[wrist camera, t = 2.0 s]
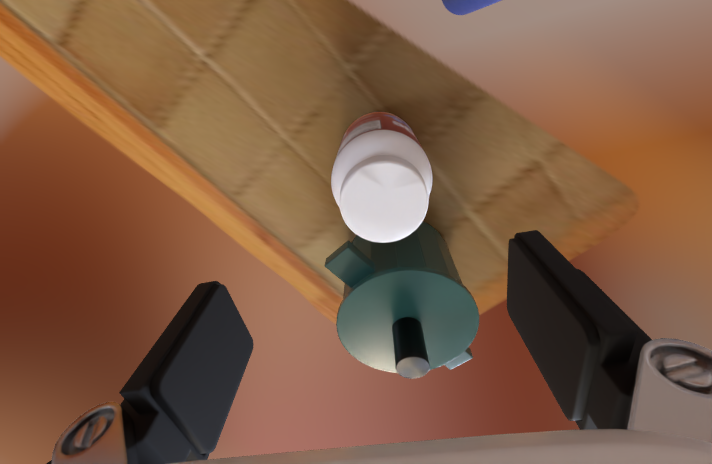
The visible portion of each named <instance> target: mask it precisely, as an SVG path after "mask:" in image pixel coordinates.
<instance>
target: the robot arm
mask: <svg viewBox="0 0 712 464" xmlns="http://www.w3.org/2000/svg"><path fill="white" fill-rule="evenodd" d="M507 310H508V313H509V316H510V318H511V320H512V321H513V323H514V325H515V327H516V329H517V330H518V332H519V334H520V335H521V337H522V339H523V341H524V343H525V345H526V346H527V348H528V350H529V352H530V353H531V355H532V357H533V359H534V361H535V363H536V364H537V366H538V368H539V370H540V371H541V373H542V375H543V377H544V379H545V381H546V382H547V384H548V386H549V388H550V389H551V391H552V393H553V395H554V397H555V398H556V400H557V402H558V404H559V405H560V407H561V409H562V411H563V413H564V414H565V416H566V417H567V419H568V420H570V421H573V420H575V421H576V423H577V425H578V427H579V428H580V430H562V431H548V432H531V433H517V434H501V435H488V436H476V437H463V438H451V439H439V440H426V441H414V442H402V443H390V444H379V445H367V446H355V447H344V448H332V449H320V450H310V451H297V452H286V453H275V454H264V455H253V456H242V457H231V458H221V459H210V460H207V458H208V456H209V453H211V452H212V451H213V450H214V449H215V447H216V445H217V442H218V440H219V437H220V434H221V431H222V429H223V426H224V424H225V421H226V419H227V416H228V413H229V411H230V408H231V405H232V403H233V400H234V398H235V395H236V392H237V390H238V387H239V384H240V382H241V379H242V377H243V374H244V371H245V369H246V366H247V363H248V361H249V358H250V355H251V353H252V350H253V339H252V337H251V335H250V333H249V331H248V329H247V327H246V325H245V324H244V322H243V320H242V318H241V316H240V314H239V312H238V310H237V308H236V306H235V304H234V302H233V300H232V298H231V296H230V294H229V292H228V290H227V288H226V287H225V286H224V285H222V284H220V283H219V282H217V281H213V282H207V283H201V284H199V285H197V287H196V288H195V289H194V291H193V292H192V293H191V295H190V296H189V298H188V299H187V300H186V302H185V303H184V305H183V306H182V307H181V309H180V310H179V311H178V313H177V314H176V315H175V317H174V318H173V320H172V321H171V322H170V324H169V325H168V326H167V328H166V329H165V331H164V332H163V333H162V335H161V336H160V337H159V339H158V340H157V342H156V343H155V344H154V346H153V347H152V348H151V350H150V351H149V353H148V354H147V355H146V357H145V358H144V359H143V361H142V362H141V364H140V365H139V366H138V368H137V369H136V370H135V372H134V373H133V375H132V376H131V377H130V379H129V380H128V382H127V383H126V384H125V386H124V387H123V388H122V390H121V391H120V394H121V395H122V396H123V397H124V400H123V402H122V403H121V405H120V404H118V403H116V402H106V403H103V404H99V405H97V406H95V407H93V408H91V409H89V410H88V411H86V412H85V413H84V414H82V415H81V416H79V417H78V418H77V419H76V420H75V421H74V422H73V423H71V424H70V425H69V426H68V428H67V429H66V430H65V431H64V432H63V433H62V434H61V436H60V438H59V439H58V441H57V442H56V444H55V448H54V450H53V455H52V460H51V461H50V462H48V463H47V464H712V351H711V350H709V349H707V348H705V347H702V346H700V345H697V344H694V343H691V342H687V341H683V340H678V339H667V338H661V339H656V340H652V339H651V338H650V337H649V336H647V334H645V332H644V331H643V330H641V329H640V328H639V327H638V326H637V325H636V324H635V323H634V322H633V321H632V320H631V319H630V318H629V317H628V316H627V315H626V314H625V313H624V312H623V311H622V310H621V309H620V308H619V307H618V306H617V305H616V304H615V303H614V302H613V301H612V300H611V299H610V298H609V297H608V296H607V295H606V294H605V293H604V292H603V291H602V290H601V289H600V288H599V287H598V286H597V285H596V284H595V283H594V282H593V281H592V280H591V279H590V278H589V277H588V276H587V275H586V274H585V273H584V272H582V271H581V270H579V269H576V268H575V267H574V266H573V265H572V264H571V263H570V262H569V261H568V260H567V259H566V258H565V257H564V256H563V255H562V254H561V253H560V252H559V251H558V250H557V249H556V248H555V247H554V246H553V245H552V244H551V243H550V242H549V241H548V240H547V239H546V238H545V237H544V236H543V235H542V234H541V233H540V232H539V231H537V230H534V231H528V232H522V233H517V234H515V237H514V239H510V240H509V252H508V283H507Z"/></svg>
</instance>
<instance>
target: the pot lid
mask: <svg viewBox="0 0 712 464" xmlns="http://www.w3.org/2000/svg"><path fill="white" fill-rule="evenodd" d="M336 325H337V332H338V336H339V338H340V341H341V343H342V344H343V346H344V347H345V349H346V350H347V351H348V352H349V353H350V354H351V355H352V356H353V357H354V358H356V359H357V360H359V361H360V362H362V363H364V364H366V365H368V366H370V367H372V368H375V369H379V370H383V371H387V372H393V373H399V375H401V376H403V377H405V378H410V379H412V378H413V379H414V378H419V377H422V376H424V375H425V374H426V373H427V372H428V371H429V370H431V369H435V368H437V367H440V366H442V365H445V364H447V363H449V362H450V361H452V360H454V359H455V358H457V357H458V356H459V355H461V354H462V353H463V352H464V351H465V350H466V349H467V348H468V347H469V345H470V344H471V343H472V341H473V339H474V338H475V335H476V333H477V330H478V326H479V312H478V308H477V305H476V303H475V300H474V298H473V297H472V295H471V293H470V292H469V291H468V289H467V288H466V287H465V286H464V285H463V284H462V283H460V282H459V281H458V280H456V279H455V278H453V277H452V276H450V275H447V274H445V273H443V272H440V271H437V270H434V269H429V268H424V267H414V266H413V267H397V268H391V269H387V270H383V271H380V272H377V273H375V274H372V275H370V276H368V277H366V278H365V279H363V280H362V281H360V282H359V283H357V284H356V285H355V286H354V287H353V288H352V289H351V290H350V291H349V292H348V293H347V294H346V296H345V297H344V299H343V300H342V302H341V304H340V307H339V310H338V314H337V324H336Z"/></svg>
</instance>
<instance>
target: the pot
mask: <svg viewBox="0 0 712 464" xmlns="http://www.w3.org/2000/svg"><path fill="white" fill-rule="evenodd" d="M413 266H414V267H424V268H429V269H434V270H437V271H440V272H443V273H445V274H447V275H450V276H452V277H453V278H455V279H456V280H458V281H459V282H460V283H462V282H461V279H460V277H459V274H458V272H457V269H456V267H455V265H454V262H453V260H452V257H451V255H450V253H449V250H448V248H447V245H446V243H445V240H444V239H443V238H442V237H441V235H440V234H439V233H438V232H437V230H435V229H434V228H433V227H432V226H430V225H429V224H427V223H426V222H423V221H422V223H421V224H420V225H419V227H418V228H417V229H416V230H415V231H414V232H412V233H411V234H410V235H408V236H406V237H405V238H402V239H400V240H397V241H393V242H386V243H380V242H373V241H369V240H366V239H364V238H362V237H360V236H358V235H357V236H356V237H355V238H354V240H353V242H352V243H351V242H350V241H347V242H346V243H345V244H343V245H342V246H341V247H340V248H339V249H337V250H336V251H335V252H334V253H333V254H331V255H330V256H329V257H328V258H326V262H325V267H326V268H327V269H329V270H330V271H331V272H332V273H333V274H335V275H336V276H337V277H338V278H340V279H341V280H342V281H343V282H344V283H345V287H344V297H345V296H346V294H347V293H348V292H349V291H350V290H351V289H352V288H353V287H354V286H355V285H356V284H357V283H359V282H360V281H362V280H363V279H365V278H366V277H368V276H370V275H372V274H375V273H377V272H380V271H383V270H387V269H391V268H397V267H413ZM344 297H343V299H344ZM471 358H473V356H472V353H471V350H470V348H469V347H468V348H467V349H466V350H465V351H464V352H463V353H462V354H461V355H459V356H458V357H457V358H455V359H454V360H452V361H450V362H449V363H447V364H445V366H446V367H448V368H449V369H452V368H454V367H456V366H458V365H460V364H462V363H464V362H466V361H467V360H469V359H471Z"/></svg>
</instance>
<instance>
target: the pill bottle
mask: <svg viewBox="0 0 712 464" xmlns="http://www.w3.org/2000/svg"><path fill="white" fill-rule="evenodd" d="M331 186H332V192H333V195H334V198H335V200H336V202H337V204H338V206H339V207H340V211H341V215H342V217H343V219H344V221H345V223H346V224H347V226H348V227H349V228H350V229H351V230H352V231H353V232H354V233H355V234H357V235H358V236H360V237H362V238H364V239H366V240H369V241H373V242H380V243H386V242H393V241H397V240H400V239H402V238H405V237H406V236H408V235H410V234H411V233H412V232H414V231H415V230H416V229H417V228H418V227H419V225H420V224H421V223H422V221H423V220H424V217H425V215H426V213H427V209H428V203H429V195H430V192H431V188H432V170H431V166H430V163H429V160H428V157H427V155H426V154H425V152H424V150H423V148H422V146H421V145H420V143H419V141H418V140H417V138H416V136H415V135H414V133H413V131H412V130H411V128H410V127H409V126H408V124H407V123H406V122H404V121H403V120H402V119H401V118H399V117H397V116H396V115H393V114H391V113H387V112H372V113H368V114H365V115H363V116H361V117H359V118H358V119H356V120H355V121H354V122H353V123H352V124H351V125H350V126H349V127H348V129H347V130H346V132H345V134H344V136H343V139H342V142H341V145H340V148H339V151H338V154H337V157H336V160H335V162H334V166H333V170H332V176H331Z"/></svg>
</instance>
